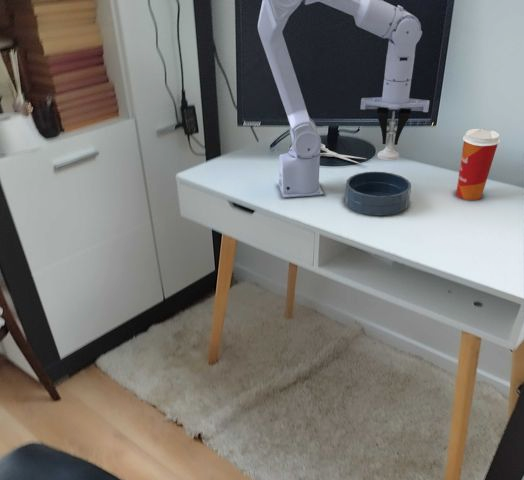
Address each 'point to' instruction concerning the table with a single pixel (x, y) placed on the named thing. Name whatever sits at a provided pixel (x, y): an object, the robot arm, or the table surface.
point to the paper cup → (476, 162)
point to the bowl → (377, 193)
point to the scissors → (329, 153)
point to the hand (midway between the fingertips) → (389, 143)
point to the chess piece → (390, 142)
